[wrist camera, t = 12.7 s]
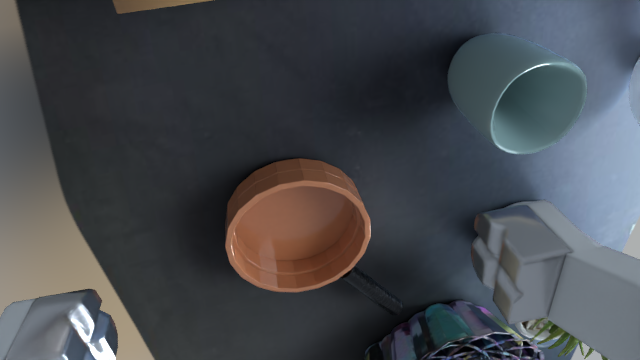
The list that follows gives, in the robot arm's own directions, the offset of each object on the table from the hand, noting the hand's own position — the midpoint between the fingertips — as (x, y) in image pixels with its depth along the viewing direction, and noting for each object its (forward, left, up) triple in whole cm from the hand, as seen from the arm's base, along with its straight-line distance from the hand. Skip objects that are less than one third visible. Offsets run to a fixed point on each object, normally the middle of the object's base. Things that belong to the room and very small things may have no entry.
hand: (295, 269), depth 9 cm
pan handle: (+31, -12, -27) cm, 43 cm away
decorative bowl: (+53, -16, -30) cm, 63 cm away
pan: (+19, -12, -30) cm, 37 cm away
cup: (+19, +11, -30) cm, 37 cm away
